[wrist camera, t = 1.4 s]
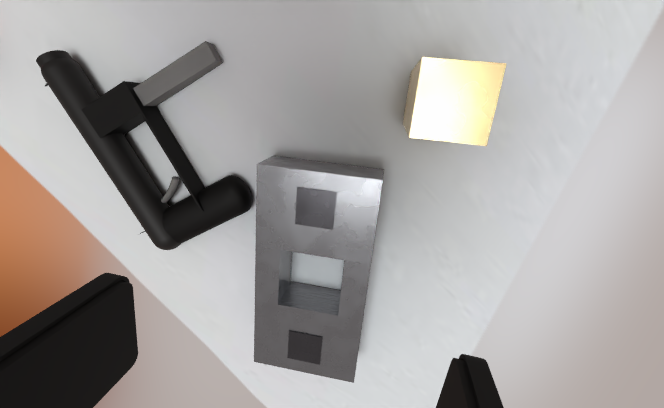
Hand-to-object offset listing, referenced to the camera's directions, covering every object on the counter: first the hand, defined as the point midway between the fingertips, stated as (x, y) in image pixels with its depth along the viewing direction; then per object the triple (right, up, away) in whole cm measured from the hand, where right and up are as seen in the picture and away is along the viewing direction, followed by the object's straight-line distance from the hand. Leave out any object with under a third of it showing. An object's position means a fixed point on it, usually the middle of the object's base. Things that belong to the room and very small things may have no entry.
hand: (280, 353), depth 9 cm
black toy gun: (-14, +11, +22) cm, 28 cm away
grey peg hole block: (0, -1, +23) cm, 23 cm away
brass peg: (+10, +12, +17) cm, 23 cm away
